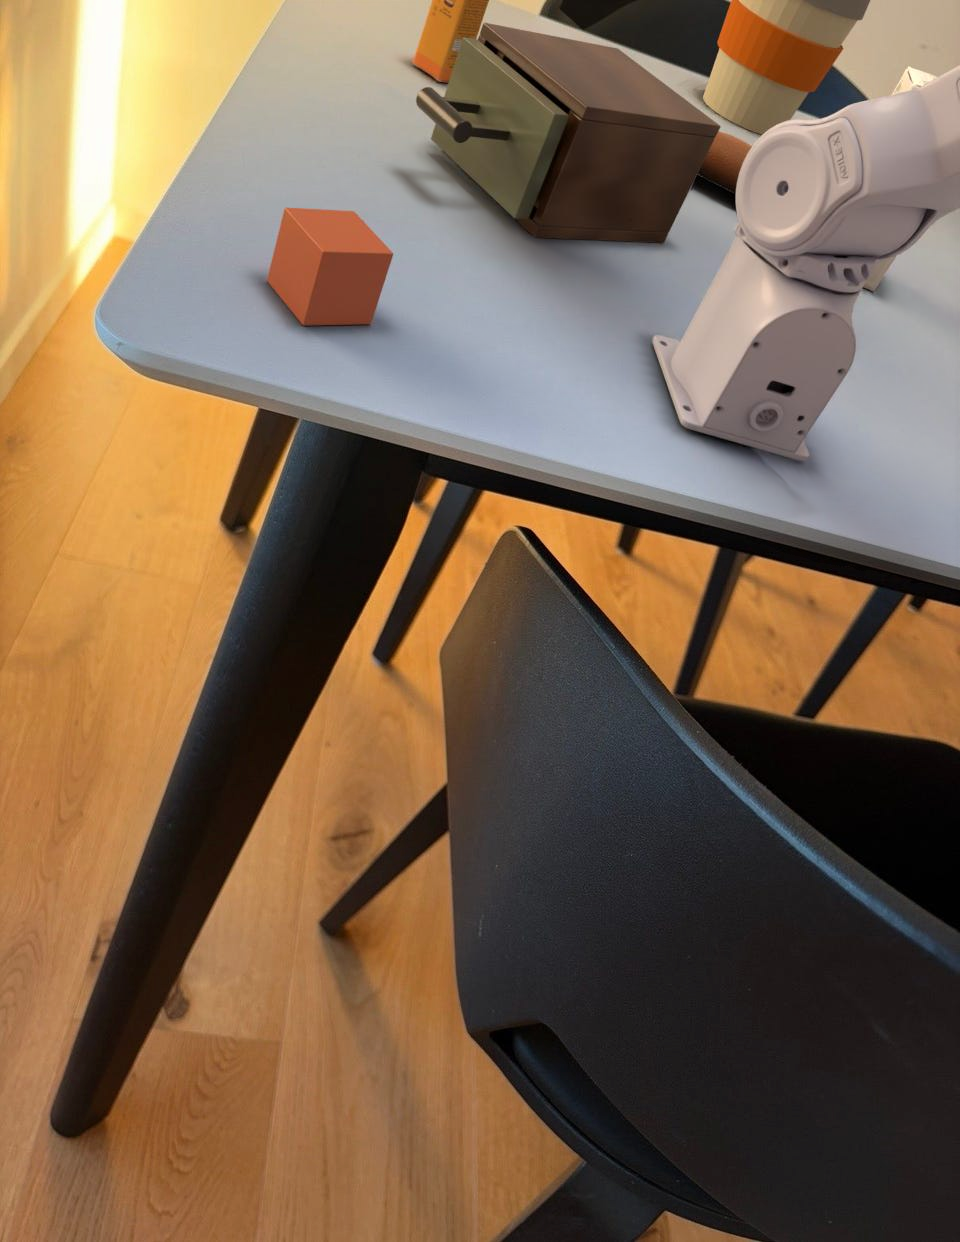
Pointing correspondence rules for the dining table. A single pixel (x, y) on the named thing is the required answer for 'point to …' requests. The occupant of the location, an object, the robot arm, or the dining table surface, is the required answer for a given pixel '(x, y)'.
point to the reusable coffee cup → (776, 56)
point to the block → (328, 266)
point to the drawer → (498, 126)
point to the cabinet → (609, 140)
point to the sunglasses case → (724, 161)
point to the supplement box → (447, 34)
